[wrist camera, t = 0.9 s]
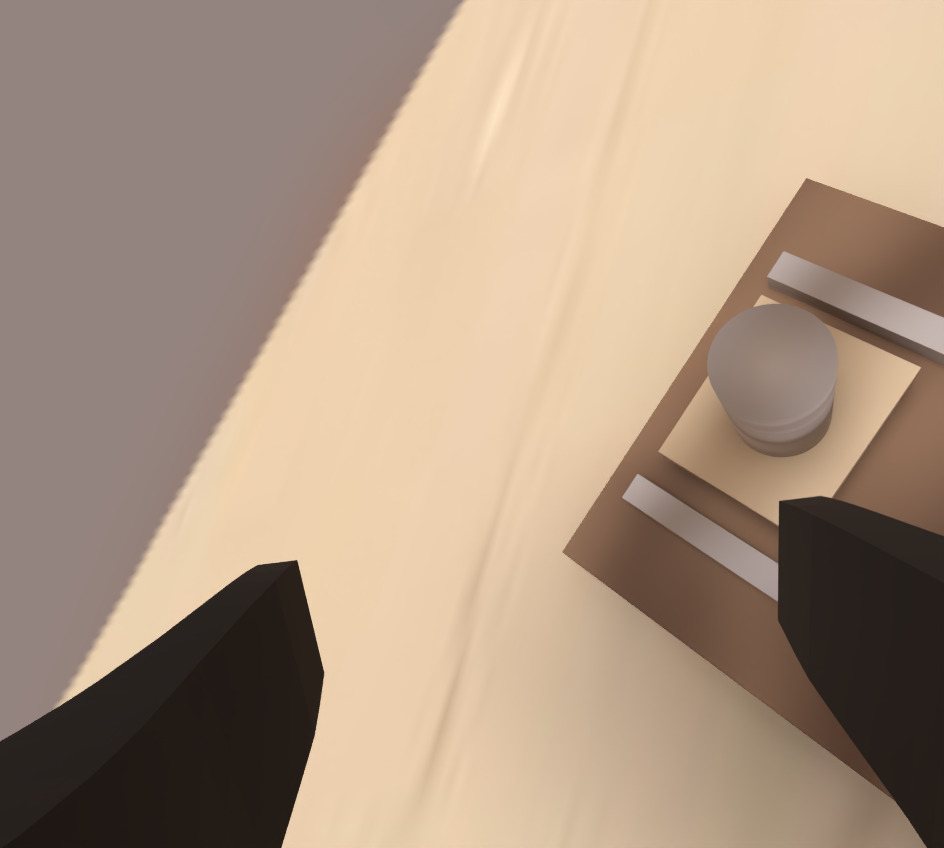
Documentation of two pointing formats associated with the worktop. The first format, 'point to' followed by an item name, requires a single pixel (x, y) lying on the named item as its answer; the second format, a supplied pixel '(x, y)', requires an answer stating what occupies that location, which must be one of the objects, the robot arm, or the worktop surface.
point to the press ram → (785, 407)
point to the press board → (740, 529)
